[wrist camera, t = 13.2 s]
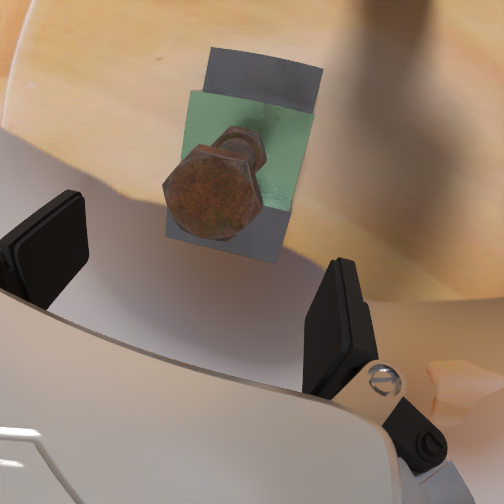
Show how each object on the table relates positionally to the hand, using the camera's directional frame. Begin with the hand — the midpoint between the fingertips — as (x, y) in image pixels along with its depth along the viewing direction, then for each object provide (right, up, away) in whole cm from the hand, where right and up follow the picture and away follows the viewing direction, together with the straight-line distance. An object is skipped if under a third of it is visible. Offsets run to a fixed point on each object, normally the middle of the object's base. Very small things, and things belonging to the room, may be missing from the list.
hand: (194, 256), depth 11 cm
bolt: (+1, +11, +19) cm, 22 cm away
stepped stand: (+2, +14, +25) cm, 29 cm away
